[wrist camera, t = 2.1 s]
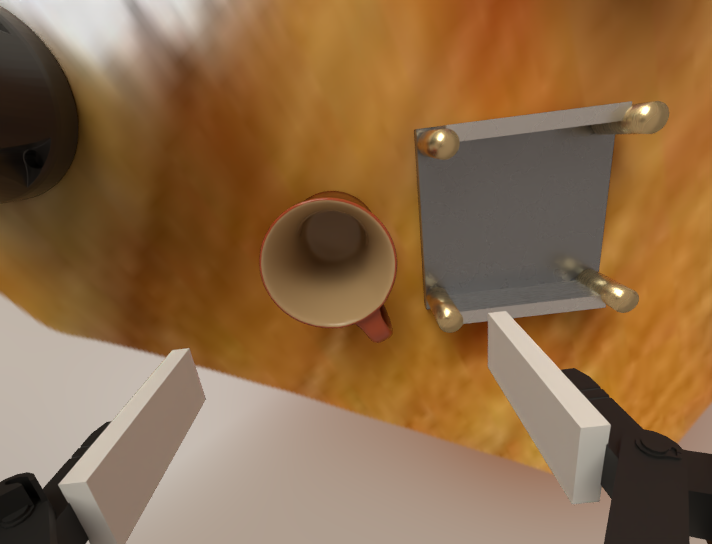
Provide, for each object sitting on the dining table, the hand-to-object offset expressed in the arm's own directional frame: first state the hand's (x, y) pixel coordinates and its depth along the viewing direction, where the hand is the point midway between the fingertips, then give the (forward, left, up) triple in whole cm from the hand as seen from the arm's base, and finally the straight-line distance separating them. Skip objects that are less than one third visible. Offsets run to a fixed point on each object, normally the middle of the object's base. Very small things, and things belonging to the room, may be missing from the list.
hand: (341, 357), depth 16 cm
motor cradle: (+15, +1, -18) cm, 24 cm away
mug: (0, 0, -18) cm, 18 cm away
